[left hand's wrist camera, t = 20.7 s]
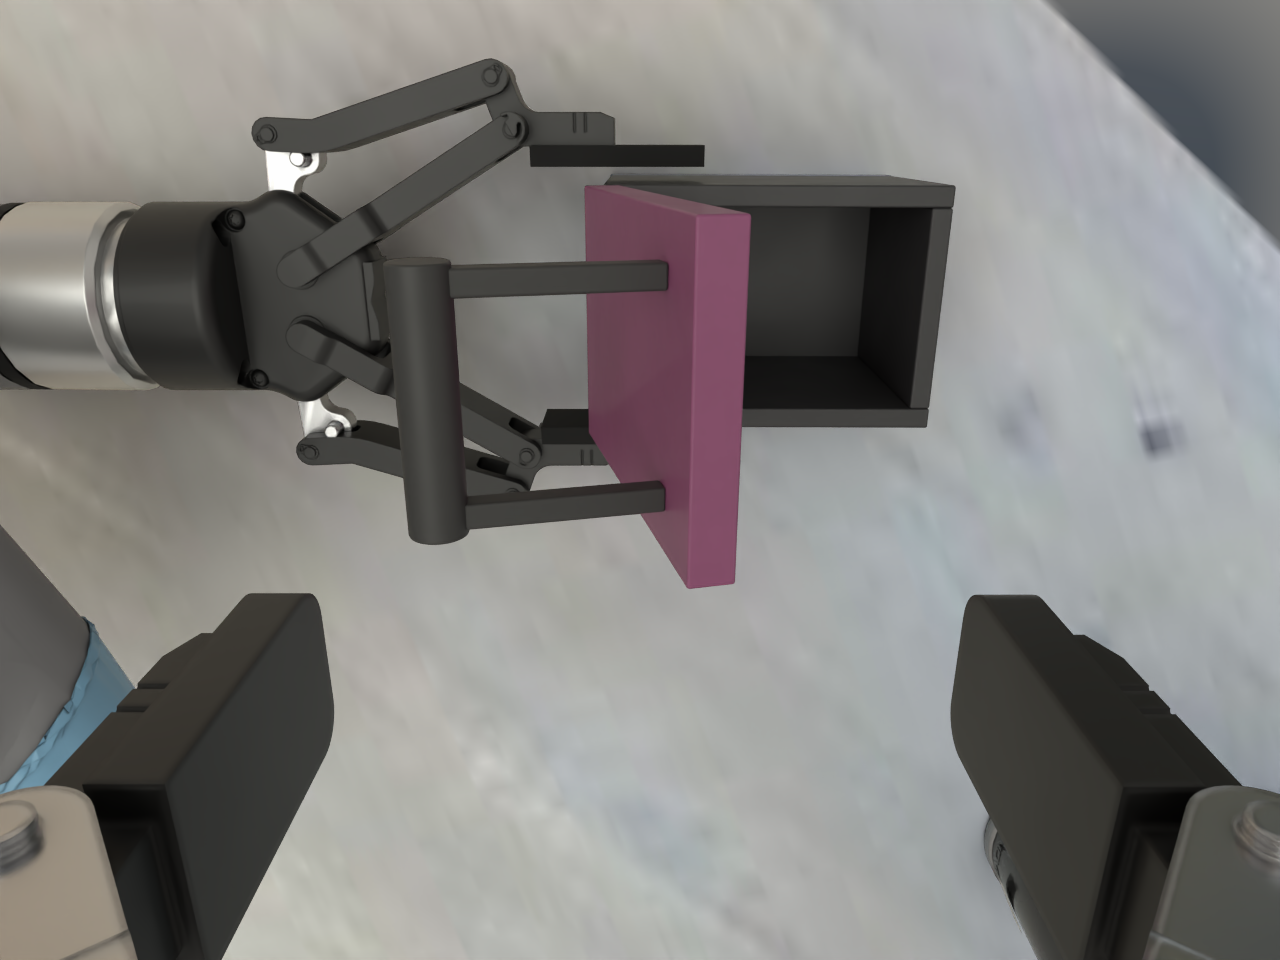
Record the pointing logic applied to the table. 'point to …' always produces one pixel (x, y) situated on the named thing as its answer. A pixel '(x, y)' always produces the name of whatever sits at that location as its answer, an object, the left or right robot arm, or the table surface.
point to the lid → (599, 377)
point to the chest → (833, 292)
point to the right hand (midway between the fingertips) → (698, 298)
